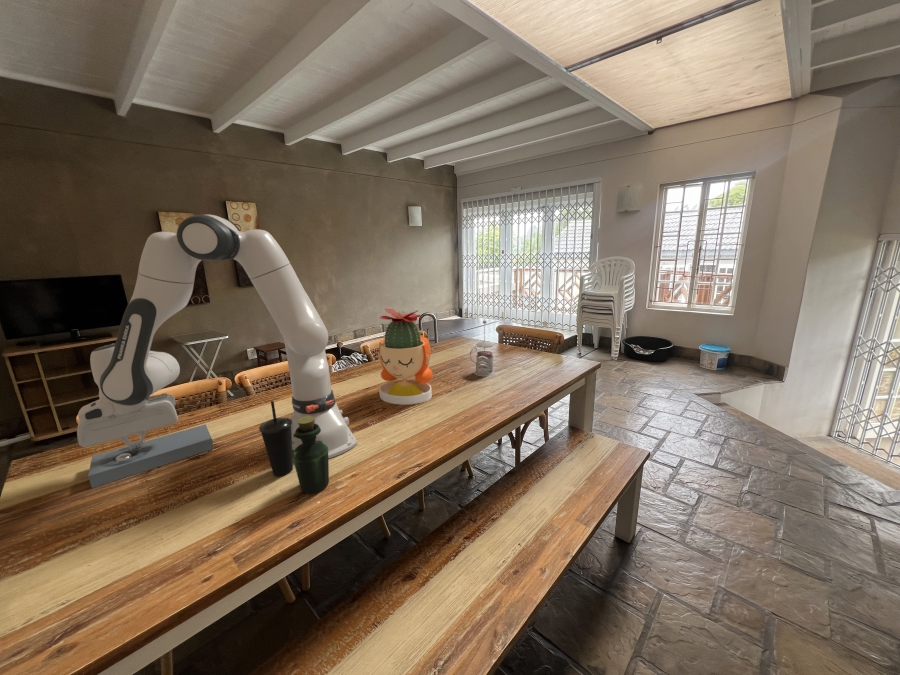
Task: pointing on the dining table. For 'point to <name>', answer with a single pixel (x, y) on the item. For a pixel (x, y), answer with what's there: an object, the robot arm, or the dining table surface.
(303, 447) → the potion bottle
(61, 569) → the dining table surface
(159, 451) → the grey flat block
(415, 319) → the potted cactus
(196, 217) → the robot arm
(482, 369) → the french press
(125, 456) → the ball
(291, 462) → the drinking cup
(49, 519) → the dining table surface
